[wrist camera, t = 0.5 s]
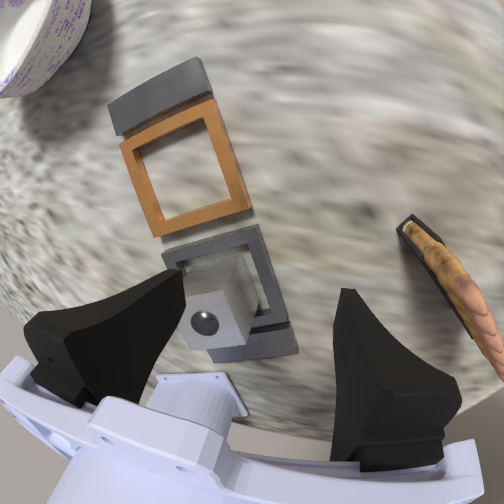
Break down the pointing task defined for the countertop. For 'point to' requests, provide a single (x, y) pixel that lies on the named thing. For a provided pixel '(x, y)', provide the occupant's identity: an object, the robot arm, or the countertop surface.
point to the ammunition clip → (456, 289)
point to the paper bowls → (37, 41)
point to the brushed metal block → (218, 304)
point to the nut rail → (154, 105)
